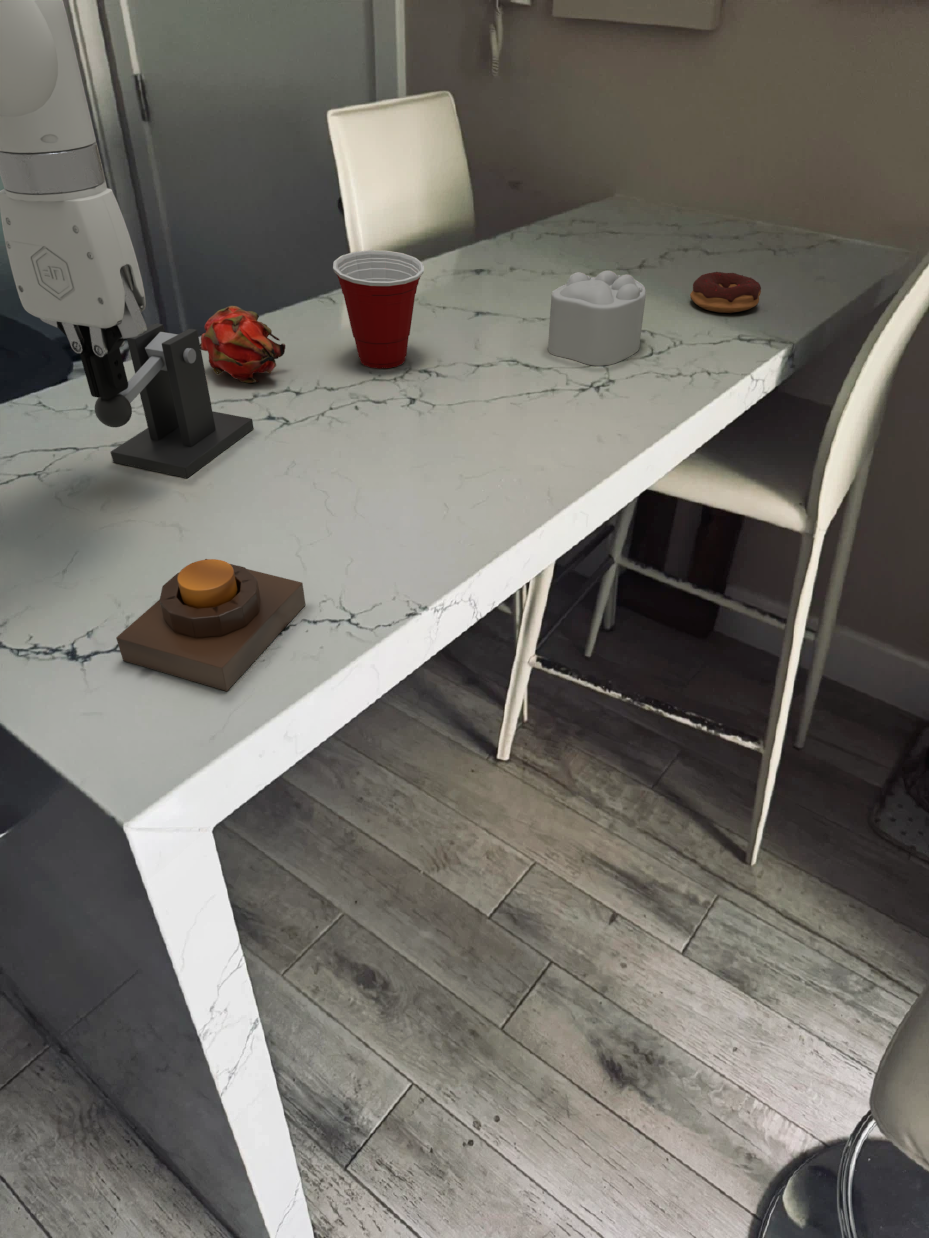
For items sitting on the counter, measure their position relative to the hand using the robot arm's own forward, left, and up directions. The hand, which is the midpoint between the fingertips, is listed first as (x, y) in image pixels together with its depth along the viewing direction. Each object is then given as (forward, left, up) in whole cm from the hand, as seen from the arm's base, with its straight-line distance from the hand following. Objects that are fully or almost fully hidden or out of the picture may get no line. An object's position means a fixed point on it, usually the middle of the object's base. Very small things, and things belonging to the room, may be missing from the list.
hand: (110, 392), depth 80 cm
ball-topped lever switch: (+4, +2, -2) cm, 5 cm away
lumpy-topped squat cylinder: (+62, -7, -9) cm, 63 cm away
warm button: (-6, -26, -6) cm, 28 cm away
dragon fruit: (+23, +16, -9) cm, 29 cm away
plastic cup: (+38, +8, -9) cm, 40 cm away
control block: (-6, -26, -9) cm, 29 cm away
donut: (+88, -9, -9) cm, 89 cm away
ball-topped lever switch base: (+8, +4, -9) cm, 12 cm away
